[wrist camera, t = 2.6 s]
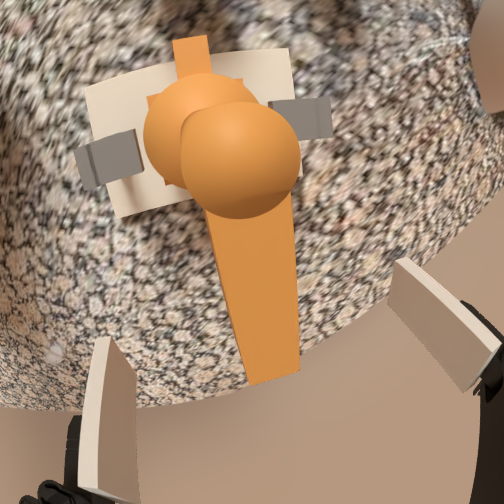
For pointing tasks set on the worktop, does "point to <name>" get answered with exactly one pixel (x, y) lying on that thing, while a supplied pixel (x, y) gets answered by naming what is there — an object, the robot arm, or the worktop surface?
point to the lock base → (136, 108)
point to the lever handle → (235, 198)
